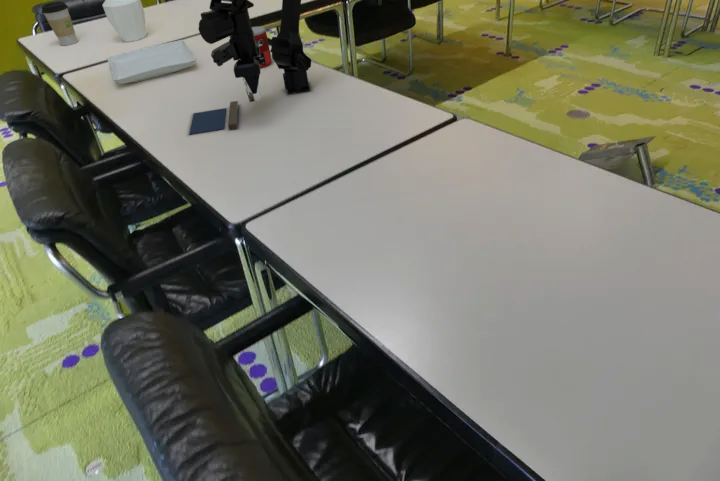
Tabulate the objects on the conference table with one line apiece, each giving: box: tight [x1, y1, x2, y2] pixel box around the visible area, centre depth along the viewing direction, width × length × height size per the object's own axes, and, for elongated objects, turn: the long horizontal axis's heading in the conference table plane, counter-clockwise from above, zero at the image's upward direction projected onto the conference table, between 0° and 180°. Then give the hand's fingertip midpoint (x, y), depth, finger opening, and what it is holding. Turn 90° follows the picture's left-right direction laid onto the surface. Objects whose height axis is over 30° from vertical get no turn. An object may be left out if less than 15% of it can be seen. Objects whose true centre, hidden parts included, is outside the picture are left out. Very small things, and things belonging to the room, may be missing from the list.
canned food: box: [252, 26, 273, 69], centre depth 171 cm, size 8×8×11 cm
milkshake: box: [241, 77, 262, 103], centre depth 139 cm, size 4×5×10 cm
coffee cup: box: [41, 1, 78, 46], centre depth 213 cm, size 10×10×15 cm
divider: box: [227, 100, 239, 131], centre depth 143 cm, size 2×15×2 cm, turn 9°
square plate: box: [106, 39, 198, 85], centre depth 181 cm, size 27×27×4 cm
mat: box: [188, 107, 227, 136], centre depth 143 cm, size 9×13×1 cm
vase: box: [101, 0, 148, 43], centre depth 206 cm, size 14×14×25 cm
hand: (254, 90), depth 141 cm, fingers closed on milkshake, 4 cm apart
